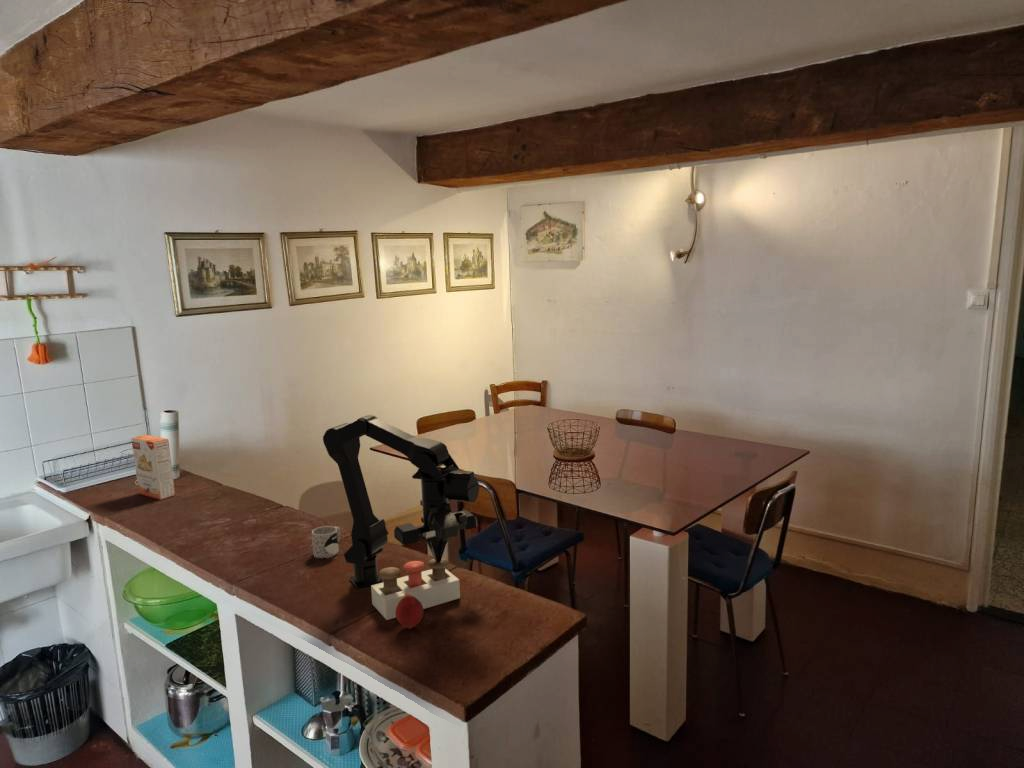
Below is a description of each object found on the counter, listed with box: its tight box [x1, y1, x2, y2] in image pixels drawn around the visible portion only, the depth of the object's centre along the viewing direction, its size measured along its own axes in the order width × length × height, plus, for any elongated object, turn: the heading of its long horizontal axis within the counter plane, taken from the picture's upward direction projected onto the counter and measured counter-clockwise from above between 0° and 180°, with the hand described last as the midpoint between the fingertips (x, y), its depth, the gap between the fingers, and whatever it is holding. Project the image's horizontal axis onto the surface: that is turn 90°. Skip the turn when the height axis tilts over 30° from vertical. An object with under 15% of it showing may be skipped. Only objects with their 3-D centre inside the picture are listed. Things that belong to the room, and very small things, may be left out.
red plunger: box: [403, 560, 426, 588], centre depth 159 cm, size 5×5×6 cm
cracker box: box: [130, 434, 176, 501], centre depth 245 cm, size 14×6×21 cm, turn 57°
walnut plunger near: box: [378, 566, 401, 596], centre depth 156 cm, size 5×5×6 cm
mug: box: [311, 525, 341, 560], centre depth 190 cm, size 10×7×7 cm, turn 161°
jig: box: [370, 568, 461, 621], centre depth 160 cm, size 9×18×4 cm, turn 121°
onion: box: [395, 593, 424, 630], centre depth 148 cm, size 6×6×8 cm
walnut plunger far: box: [427, 557, 449, 581], centre depth 163 cm, size 5×5×6 cm
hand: (438, 561), depth 162 cm, fingers closed, pressing on walnut plunger far
